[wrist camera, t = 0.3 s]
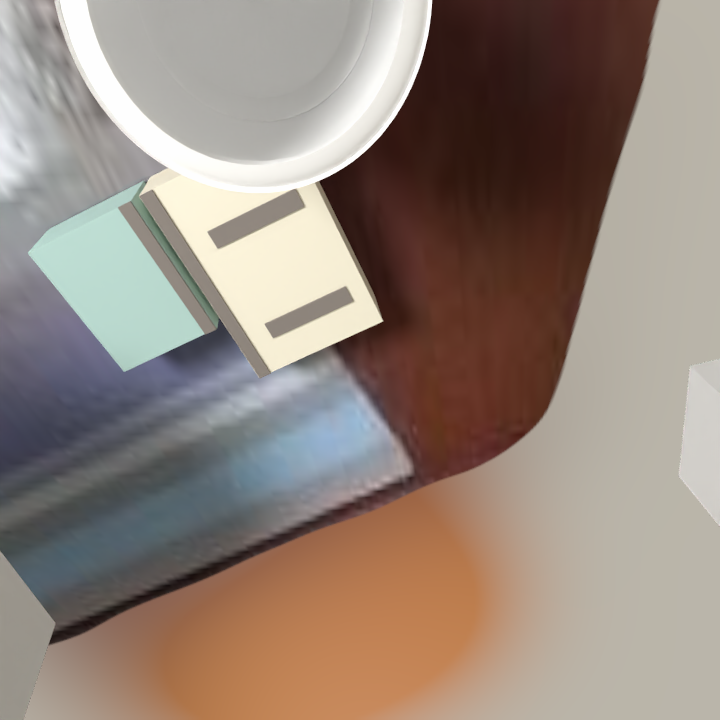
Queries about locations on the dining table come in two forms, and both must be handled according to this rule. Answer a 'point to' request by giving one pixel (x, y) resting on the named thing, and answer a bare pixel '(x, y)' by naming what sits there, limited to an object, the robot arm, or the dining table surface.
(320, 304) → the cream slotted block
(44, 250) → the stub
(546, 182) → the dining table surface
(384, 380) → the dining table surface
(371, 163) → the dining table surface
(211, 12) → the jar
